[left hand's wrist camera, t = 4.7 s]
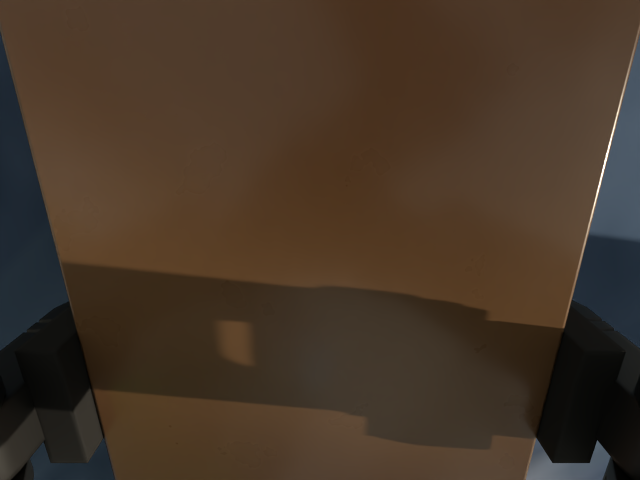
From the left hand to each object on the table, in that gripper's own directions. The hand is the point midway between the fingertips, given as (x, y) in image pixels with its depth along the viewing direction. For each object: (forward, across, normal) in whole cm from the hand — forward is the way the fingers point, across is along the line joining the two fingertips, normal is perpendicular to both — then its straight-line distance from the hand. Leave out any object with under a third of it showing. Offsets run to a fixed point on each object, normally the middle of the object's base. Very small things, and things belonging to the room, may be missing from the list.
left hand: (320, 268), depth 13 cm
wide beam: (0, 0, -32) cm, 32 cm away
